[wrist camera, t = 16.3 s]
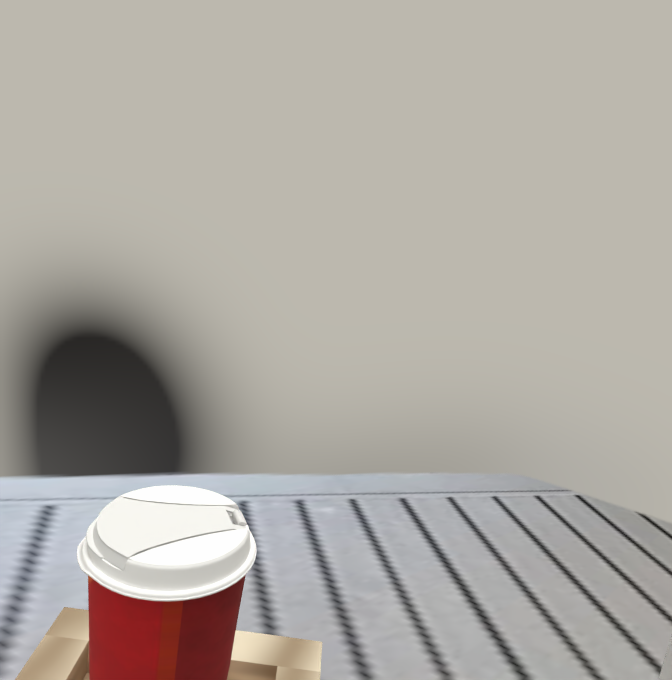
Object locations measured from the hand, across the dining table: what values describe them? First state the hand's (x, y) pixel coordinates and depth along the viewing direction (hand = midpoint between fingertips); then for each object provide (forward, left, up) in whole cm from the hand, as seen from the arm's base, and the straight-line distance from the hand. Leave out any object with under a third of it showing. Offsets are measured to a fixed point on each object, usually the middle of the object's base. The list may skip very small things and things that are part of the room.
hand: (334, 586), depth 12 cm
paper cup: (+7, -15, -22) cm, 28 cm away
